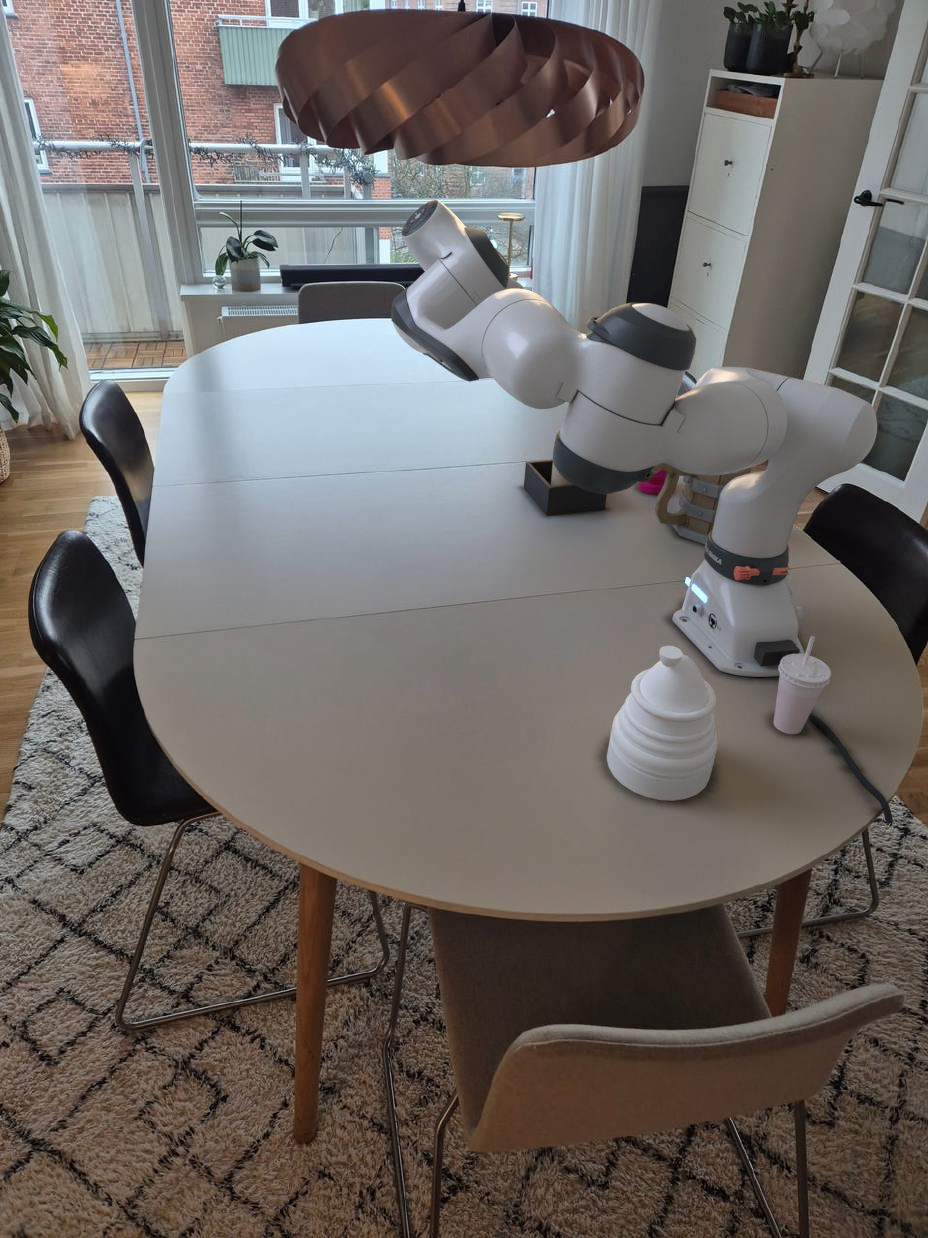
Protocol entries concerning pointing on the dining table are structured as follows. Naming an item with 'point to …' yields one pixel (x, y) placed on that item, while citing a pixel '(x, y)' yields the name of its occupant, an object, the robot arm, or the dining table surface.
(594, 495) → the box
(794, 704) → the smoothie
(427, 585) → the dining table surface
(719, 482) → the tankard
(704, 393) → the robot arm
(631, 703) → the honey pot
